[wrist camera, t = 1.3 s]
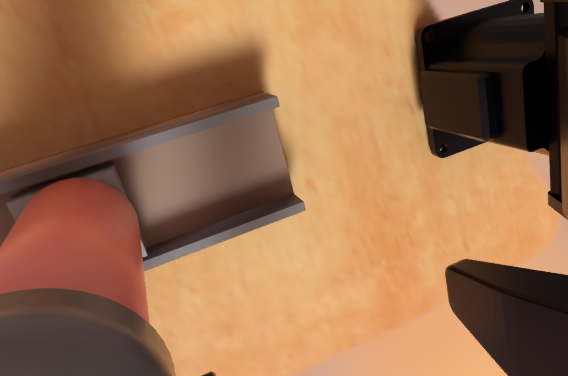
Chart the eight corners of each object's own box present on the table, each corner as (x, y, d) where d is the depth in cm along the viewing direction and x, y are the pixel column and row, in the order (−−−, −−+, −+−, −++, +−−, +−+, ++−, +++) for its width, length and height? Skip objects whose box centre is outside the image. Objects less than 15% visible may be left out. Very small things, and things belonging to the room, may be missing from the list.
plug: (123, 142, 17) (126, 287, 7) (165, 251, 19) (220, 503, 8) (-12, 184, 16) (-262, 435, 6) (45, 295, 18) (-63, 648, 7)
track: (260, 89, 20) (278, 94, 18) (289, 197, 22) (307, 213, 19) (-160, 217, 16) (-203, 243, 14) (-82, 333, 18) (-111, 372, 16)
